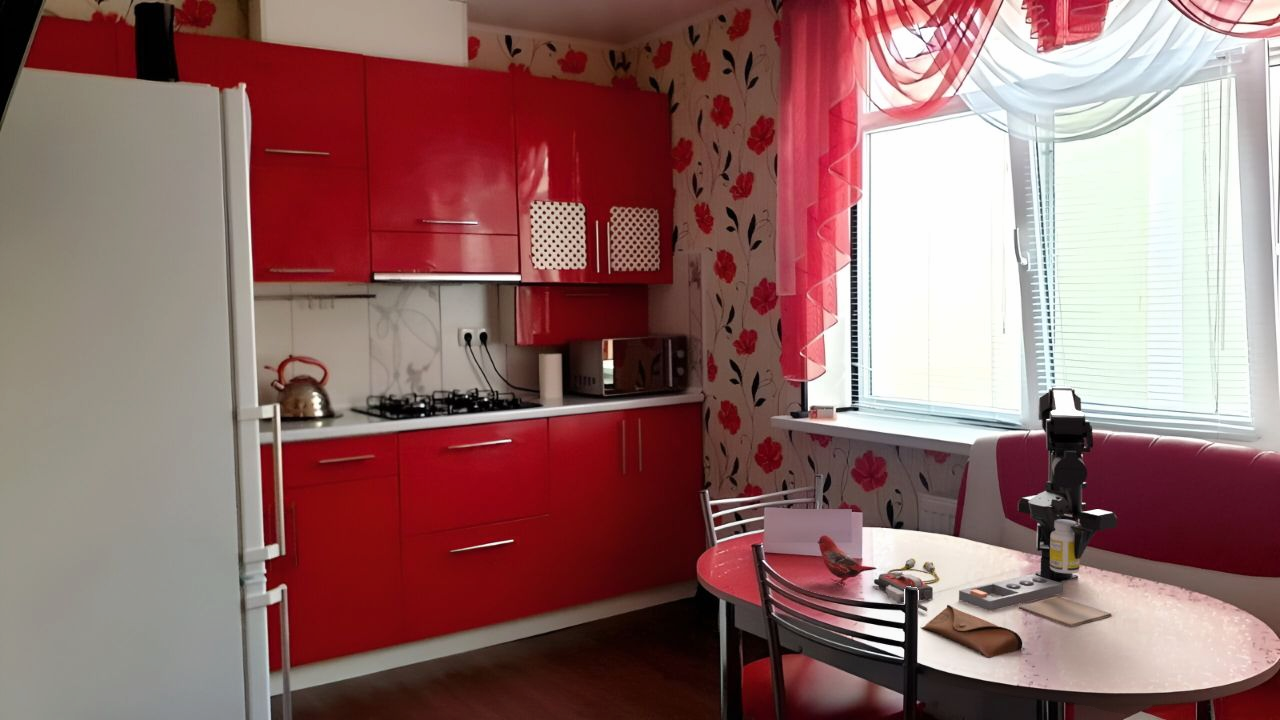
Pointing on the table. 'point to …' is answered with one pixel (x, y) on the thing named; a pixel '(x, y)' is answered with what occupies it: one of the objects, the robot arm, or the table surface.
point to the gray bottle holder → (1011, 592)
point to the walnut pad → (1064, 611)
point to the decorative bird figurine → (839, 561)
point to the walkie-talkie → (903, 586)
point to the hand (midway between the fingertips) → (1064, 555)
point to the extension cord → (926, 565)
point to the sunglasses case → (974, 633)
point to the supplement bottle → (1063, 548)
